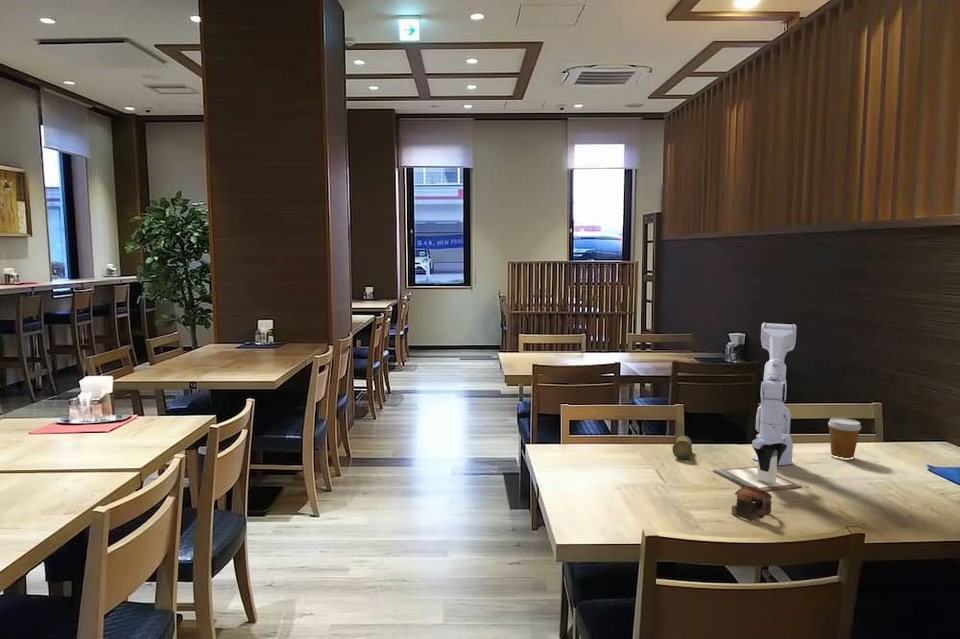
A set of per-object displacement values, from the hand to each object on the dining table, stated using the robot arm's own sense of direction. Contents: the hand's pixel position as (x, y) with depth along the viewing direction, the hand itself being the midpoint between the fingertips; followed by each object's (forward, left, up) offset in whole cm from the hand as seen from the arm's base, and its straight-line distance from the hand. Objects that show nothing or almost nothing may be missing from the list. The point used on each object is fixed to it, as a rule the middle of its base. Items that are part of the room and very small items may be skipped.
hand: (768, 469), depth 187 cm
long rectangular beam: (0, 0, -3) cm, 3 cm away
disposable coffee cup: (-42, -16, -4) cm, 45 cm away
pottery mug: (+20, +19, -4) cm, 28 cm away
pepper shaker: (+11, -25, -1) cm, 28 cm away
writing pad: (+1, -4, -4) cm, 6 cm away
